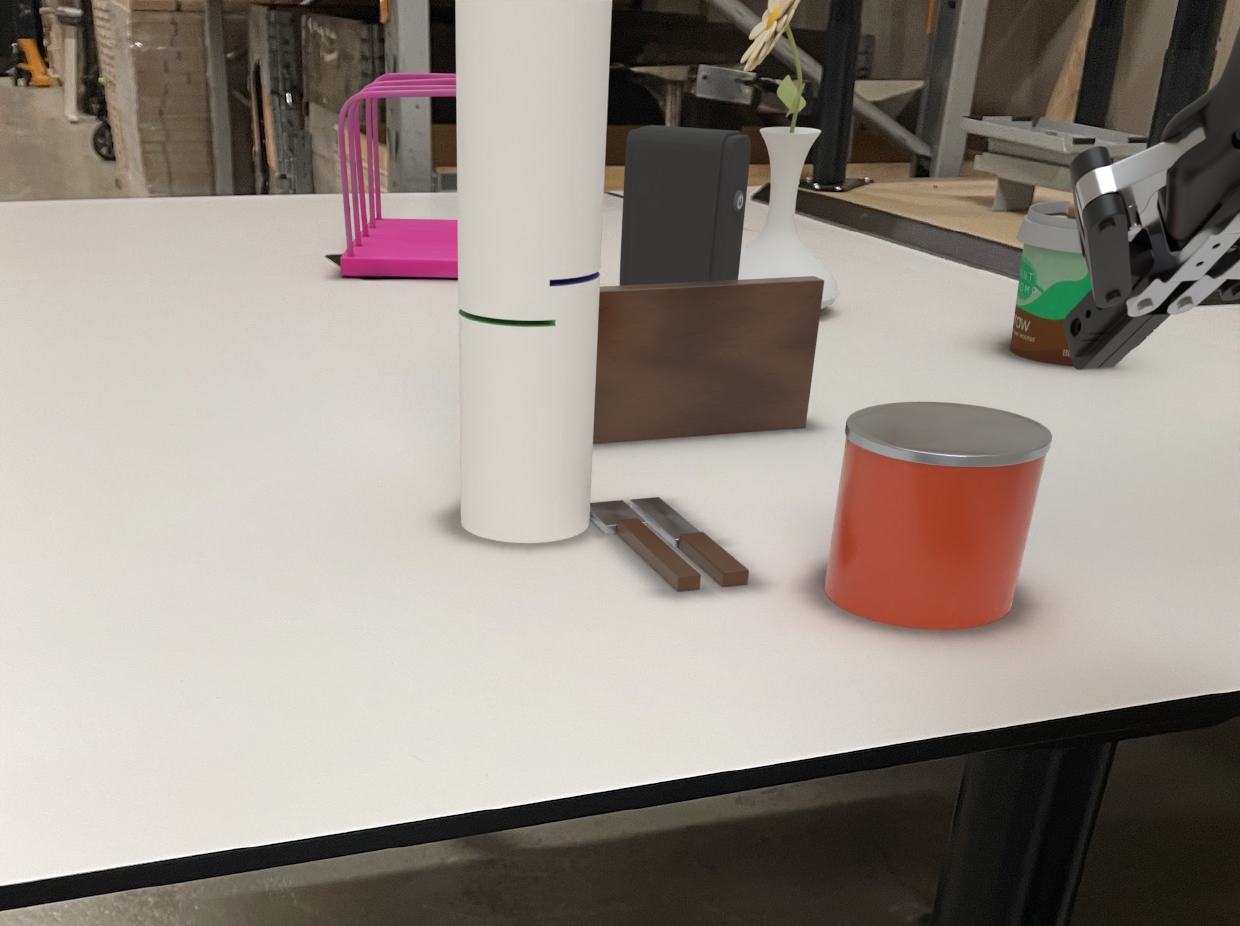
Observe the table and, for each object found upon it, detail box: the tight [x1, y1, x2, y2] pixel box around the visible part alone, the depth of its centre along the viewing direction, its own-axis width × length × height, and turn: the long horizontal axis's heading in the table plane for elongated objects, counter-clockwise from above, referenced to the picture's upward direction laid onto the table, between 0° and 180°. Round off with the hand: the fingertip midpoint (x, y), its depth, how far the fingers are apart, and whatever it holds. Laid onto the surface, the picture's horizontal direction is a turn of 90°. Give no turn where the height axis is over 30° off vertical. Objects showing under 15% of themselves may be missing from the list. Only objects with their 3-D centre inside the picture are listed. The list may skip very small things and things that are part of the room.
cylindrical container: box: [454, 0, 613, 544], centre depth 71 cm, size 7×7×25 cm
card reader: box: [618, 124, 752, 286], centre depth 109 cm, size 9×4×15 cm, turn 57°
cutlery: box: [590, 496, 750, 593], centre depth 75 cm, size 13×5×1 cm, turn 16°
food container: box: [1009, 200, 1092, 367], centre depth 109 cm, size 12×6×10 cm, turn 10°
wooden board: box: [593, 276, 824, 445], centre depth 90 cm, size 16×2×9 cm, turn 106°
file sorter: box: [337, 72, 458, 279], centre depth 141 cm, size 17×25×16 cm
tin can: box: [824, 401, 1053, 631], centre depth 67 cm, size 9×9×8 cm
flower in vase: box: [738, 0, 840, 310], centre depth 116 cm, size 13×11×25 cm
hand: (1084, 348), depth 55 cm, fingers closed
